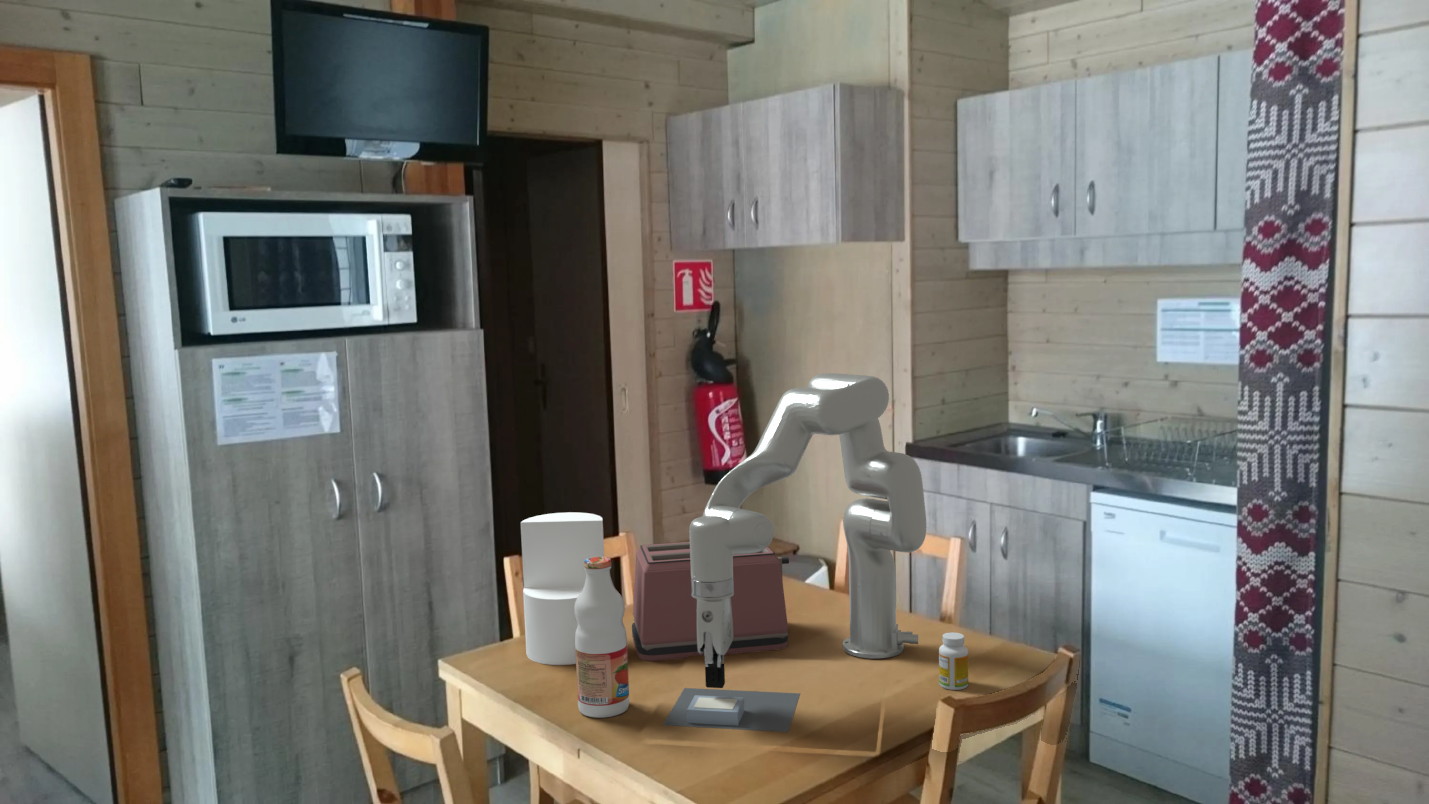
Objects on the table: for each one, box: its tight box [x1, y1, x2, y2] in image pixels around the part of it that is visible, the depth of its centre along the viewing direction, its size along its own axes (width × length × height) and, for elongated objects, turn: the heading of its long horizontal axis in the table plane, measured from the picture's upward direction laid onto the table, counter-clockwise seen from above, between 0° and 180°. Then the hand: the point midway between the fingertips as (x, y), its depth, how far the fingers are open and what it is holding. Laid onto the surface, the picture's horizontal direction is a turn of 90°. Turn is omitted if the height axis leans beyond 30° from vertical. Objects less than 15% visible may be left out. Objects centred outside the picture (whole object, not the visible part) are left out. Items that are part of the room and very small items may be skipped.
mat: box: [662, 687, 801, 733], centre depth 194 cm, size 22×17×1 cm
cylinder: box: [520, 511, 605, 666], centre depth 228 cm, size 17×17×28 cm
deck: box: [687, 695, 744, 726], centre depth 191 cm, size 9×3×6 cm
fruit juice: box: [574, 556, 630, 719], centre depth 196 cm, size 9×9×28 cm
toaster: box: [631, 541, 790, 662], centre depth 232 cm, size 19×34×20 cm, turn 100°
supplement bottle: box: [938, 632, 969, 691], centre depth 203 cm, size 5×5×10 cm
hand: (715, 685), depth 193 cm, fingers closed
